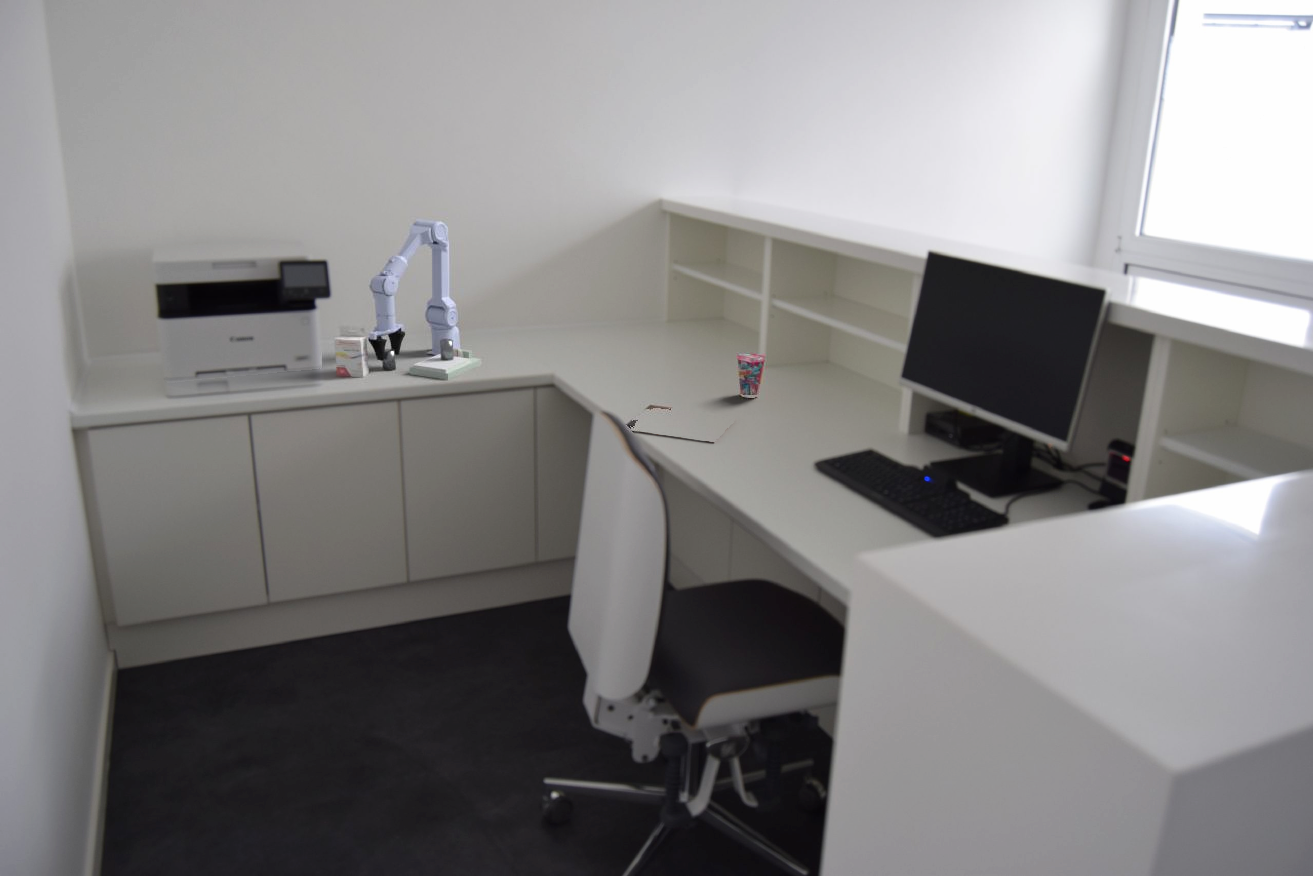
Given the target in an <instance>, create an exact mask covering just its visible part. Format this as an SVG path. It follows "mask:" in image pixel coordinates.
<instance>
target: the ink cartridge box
mask: <svg viewBox="0 0 1313 876" xmlns="http://www.w3.org/2000/svg"><path fill="white" fill-rule="evenodd" d="M352 330H353V331H352ZM339 333H340V335H338V336H337V337H335V338H334V341H333V342H334V351H335V353H334V354H335V355H334V356H335V365H336V376H337V377H338V376H339V377H354V378H364V377H365V376H367V375H368V374H369V373H370V372H369V371H370V368H369V356H368V340H367V335H366V328H365V327H364V326H353V325H352V326H351V325H340V326H339Z"/></svg>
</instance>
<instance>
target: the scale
mask: <svg viewBox="0 0 1313 876" xmlns="http://www.w3.org/2000/svg"><path fill="white" fill-rule="evenodd" d="M453 354H454V359H453V360H450V361H444V360H441V355H440V354H438V355H434V356H431V357H429V358H426V359H424V360H421V361H419V362H416V363H414V364H412V366H410V367H409V368H408V369H409V370H408V371H409V375H412V376H420V377H425V378H432V379H440V380H446V381H449V380H451V379H453V377H454V378H456V377H457V376H460V375H463V374H464V373H467V372H469V371H471V370H473V369H476V368H478V367H480V366H482V358H477V357H473V350H470V349H463V348H460V349H457V348H453Z"/></svg>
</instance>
